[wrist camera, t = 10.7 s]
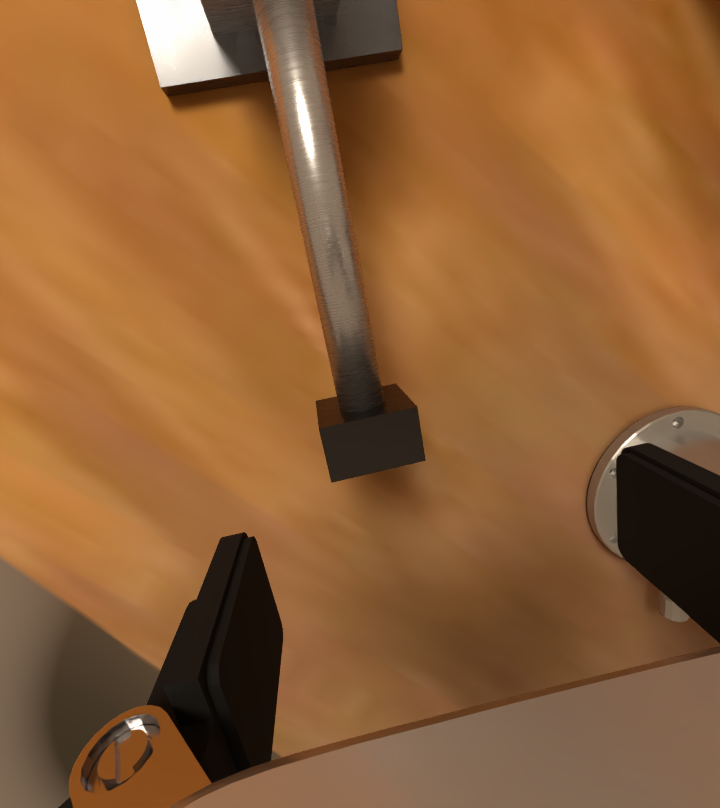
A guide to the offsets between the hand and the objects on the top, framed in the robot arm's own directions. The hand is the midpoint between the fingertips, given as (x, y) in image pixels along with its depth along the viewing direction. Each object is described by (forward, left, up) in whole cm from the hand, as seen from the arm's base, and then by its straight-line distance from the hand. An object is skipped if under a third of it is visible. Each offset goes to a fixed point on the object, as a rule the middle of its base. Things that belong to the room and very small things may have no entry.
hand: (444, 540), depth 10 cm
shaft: (+9, +1, -11) cm, 14 cm away
